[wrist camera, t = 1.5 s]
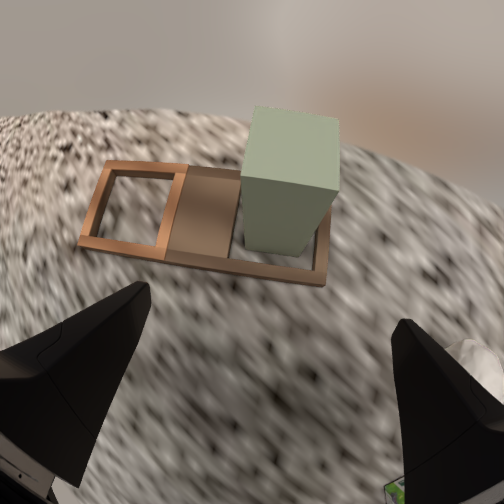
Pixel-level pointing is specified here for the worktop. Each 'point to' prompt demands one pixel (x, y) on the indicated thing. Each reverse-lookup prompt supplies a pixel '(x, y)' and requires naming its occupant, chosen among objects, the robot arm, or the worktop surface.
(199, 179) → the copper brown frame
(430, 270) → the worktop surface
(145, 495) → the worktop surface
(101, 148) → the worktop surface
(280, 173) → the sage peg
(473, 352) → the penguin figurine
